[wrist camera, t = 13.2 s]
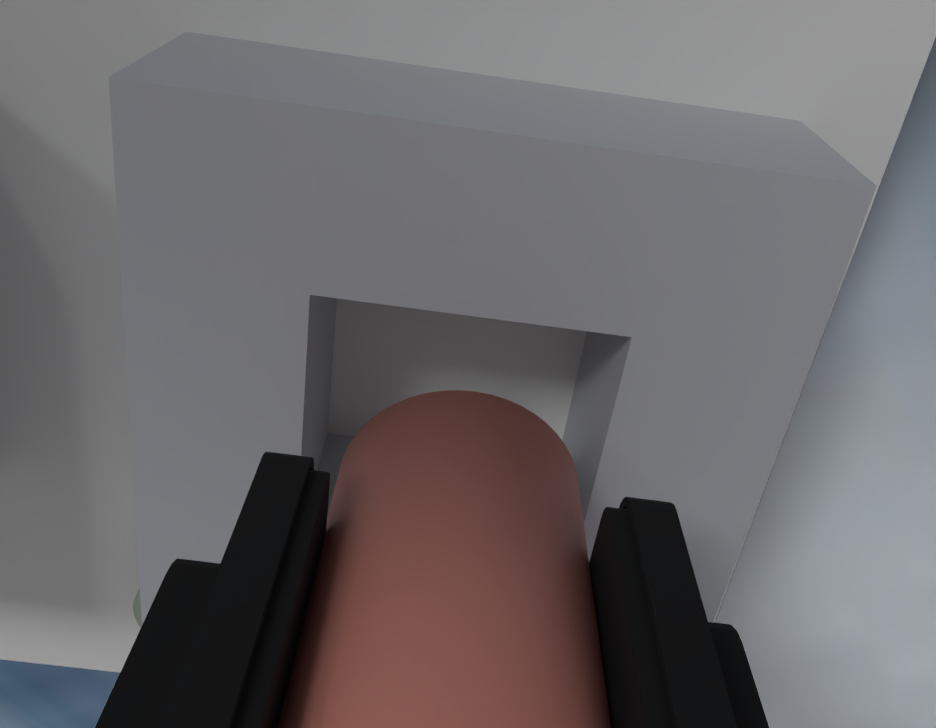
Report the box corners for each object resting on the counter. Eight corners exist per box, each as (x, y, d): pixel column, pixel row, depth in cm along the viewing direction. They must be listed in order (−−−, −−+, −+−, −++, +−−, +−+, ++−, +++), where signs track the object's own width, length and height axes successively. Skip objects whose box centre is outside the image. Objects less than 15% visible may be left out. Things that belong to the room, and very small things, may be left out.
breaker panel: (-822, -509, 12) (-1891, -806, 6) (959, -214, 13) (1284, -261, 8) (-371, 545, 20) (-664, 782, 15) (658, 662, 22) (711, 918, 16)
